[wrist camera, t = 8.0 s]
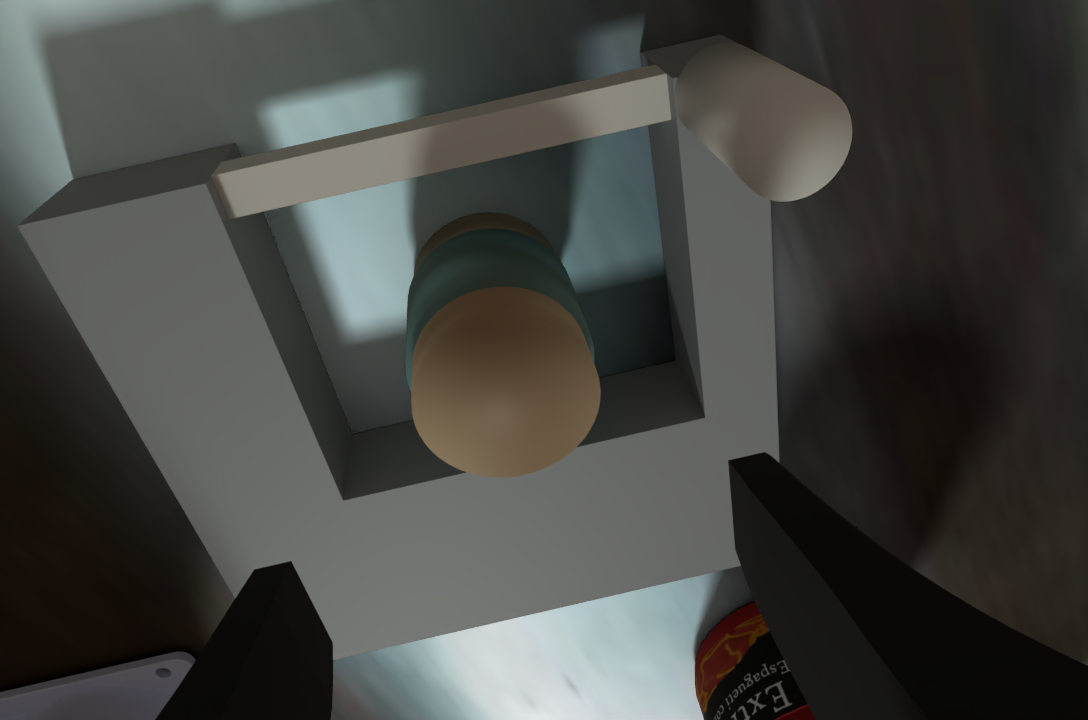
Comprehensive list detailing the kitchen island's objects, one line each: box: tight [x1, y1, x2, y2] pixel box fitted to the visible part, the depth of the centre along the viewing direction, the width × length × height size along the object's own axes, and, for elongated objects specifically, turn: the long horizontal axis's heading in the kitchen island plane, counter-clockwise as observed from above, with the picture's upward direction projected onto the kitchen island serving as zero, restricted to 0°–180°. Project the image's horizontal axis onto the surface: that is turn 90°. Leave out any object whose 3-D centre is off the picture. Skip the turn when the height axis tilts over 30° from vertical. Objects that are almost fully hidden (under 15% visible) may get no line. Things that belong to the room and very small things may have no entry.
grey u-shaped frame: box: [17, 34, 852, 660], centre depth 20 cm, size 16×16×7 cm
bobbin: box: [405, 213, 601, 477], centre depth 19 cm, size 4×4×6 cm
